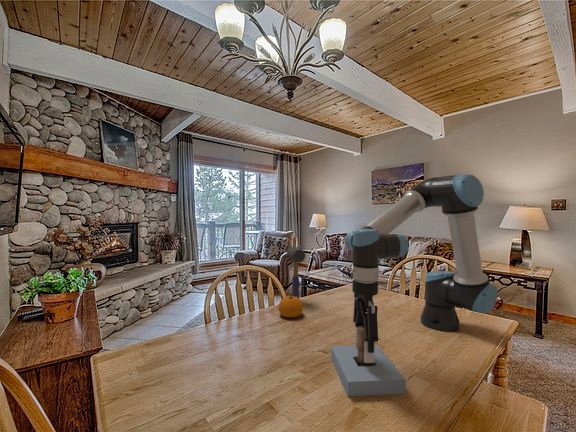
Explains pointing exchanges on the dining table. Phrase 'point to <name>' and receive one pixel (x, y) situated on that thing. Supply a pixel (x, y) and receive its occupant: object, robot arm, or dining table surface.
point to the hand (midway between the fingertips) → (364, 354)
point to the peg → (361, 347)
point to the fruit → (290, 307)
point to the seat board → (367, 373)
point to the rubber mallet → (295, 267)
